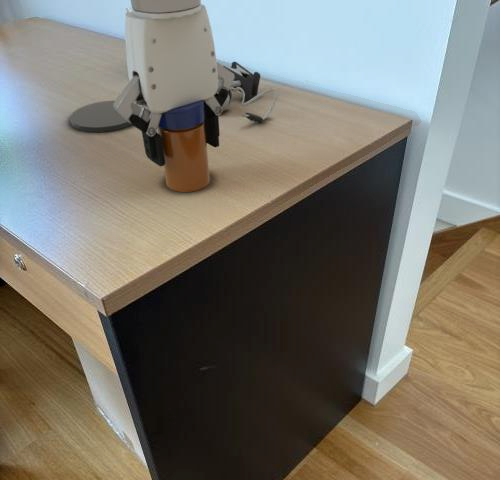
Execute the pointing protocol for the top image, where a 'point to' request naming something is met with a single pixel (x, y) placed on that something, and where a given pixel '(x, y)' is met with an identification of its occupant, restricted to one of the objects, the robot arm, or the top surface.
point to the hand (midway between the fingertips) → (184, 152)
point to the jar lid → (183, 116)
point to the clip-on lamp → (246, 89)
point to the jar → (185, 158)
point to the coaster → (100, 117)
